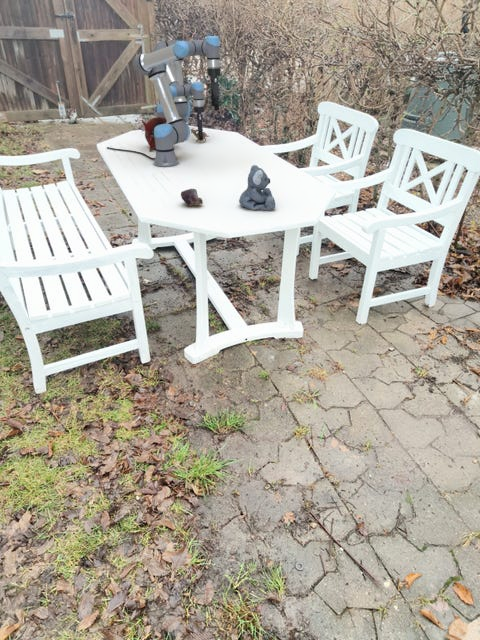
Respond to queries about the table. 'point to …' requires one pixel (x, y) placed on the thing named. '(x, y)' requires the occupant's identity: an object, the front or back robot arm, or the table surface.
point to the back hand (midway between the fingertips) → (200, 139)
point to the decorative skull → (152, 130)
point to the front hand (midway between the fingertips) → (215, 108)
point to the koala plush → (257, 191)
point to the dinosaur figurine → (198, 134)
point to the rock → (191, 197)
